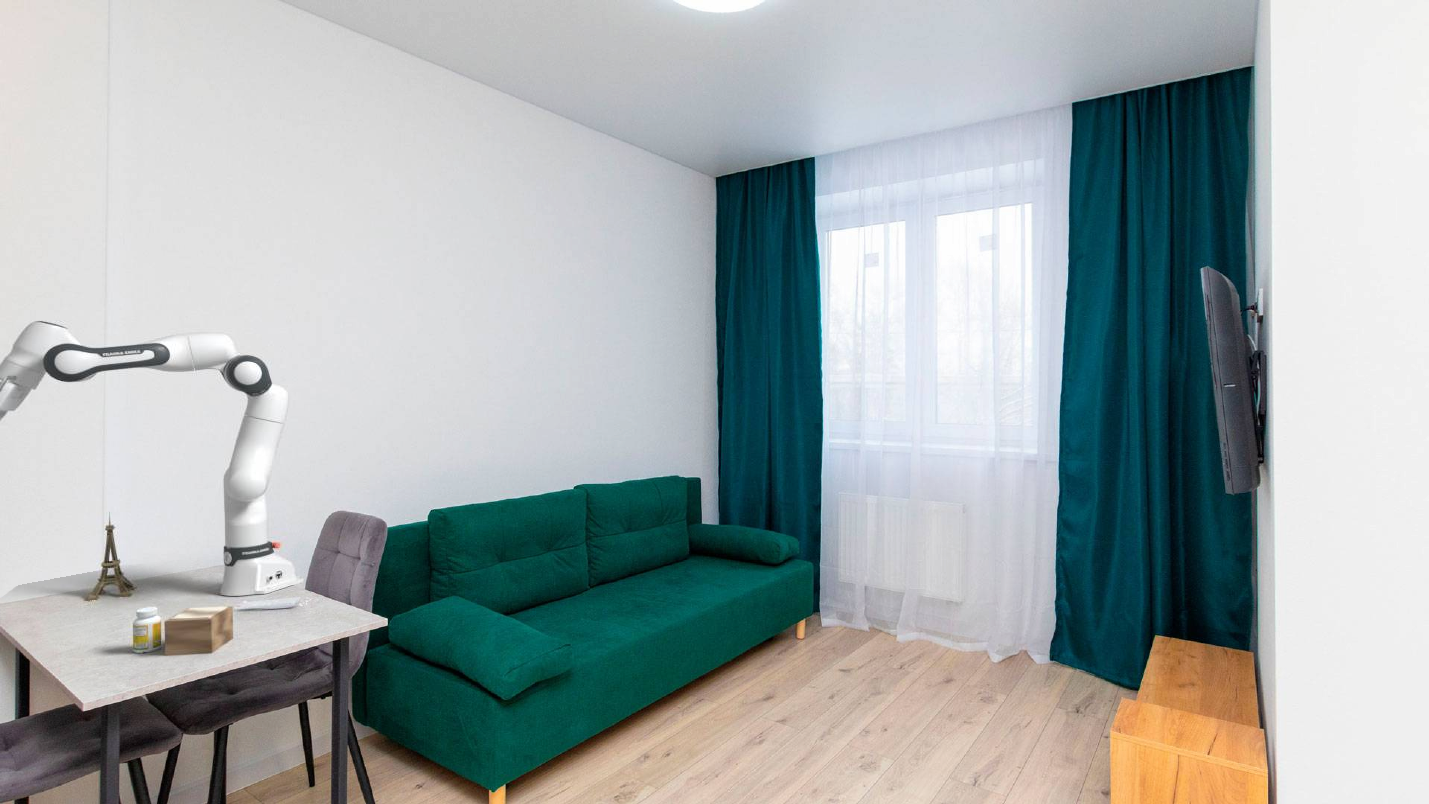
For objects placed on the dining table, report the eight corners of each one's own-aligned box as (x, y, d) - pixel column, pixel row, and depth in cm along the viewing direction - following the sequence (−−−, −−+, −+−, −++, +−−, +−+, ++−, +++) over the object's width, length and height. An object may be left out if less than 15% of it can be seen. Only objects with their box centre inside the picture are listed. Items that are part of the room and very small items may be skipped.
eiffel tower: (84, 602, 213) (82, 516, 212) (93, 593, 222) (90, 510, 221) (130, 596, 218) (128, 513, 218) (136, 588, 228) (134, 507, 227)
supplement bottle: (136, 655, 171) (135, 614, 171) (130, 649, 175) (129, 609, 175) (164, 648, 176) (163, 609, 175) (158, 643, 179) (157, 604, 179)
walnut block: (189, 640, 181) (188, 607, 181) (233, 638, 183) (232, 605, 182) (165, 655, 171) (164, 620, 171) (211, 653, 173) (211, 618, 172)
